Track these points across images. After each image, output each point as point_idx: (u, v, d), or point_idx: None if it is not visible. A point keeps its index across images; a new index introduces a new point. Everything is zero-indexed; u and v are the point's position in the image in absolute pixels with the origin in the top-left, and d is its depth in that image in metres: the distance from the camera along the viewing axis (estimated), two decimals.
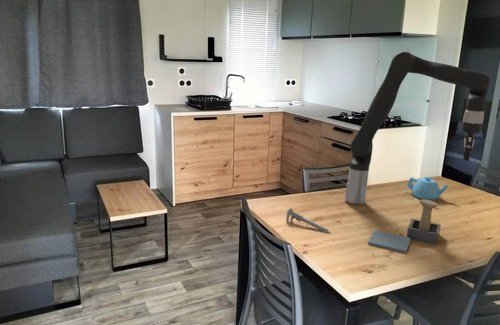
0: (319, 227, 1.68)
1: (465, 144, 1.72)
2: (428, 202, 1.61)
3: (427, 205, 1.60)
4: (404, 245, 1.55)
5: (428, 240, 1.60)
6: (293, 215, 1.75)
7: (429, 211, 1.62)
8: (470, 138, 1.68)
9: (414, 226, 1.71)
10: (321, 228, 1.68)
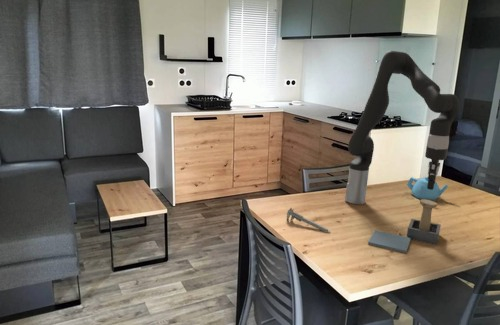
0: (319, 227, 1.68)
1: (429, 171, 1.56)
2: (428, 202, 1.61)
3: (427, 205, 1.60)
4: (404, 245, 1.55)
5: (428, 240, 1.60)
6: (293, 215, 1.75)
7: (429, 211, 1.62)
8: (433, 165, 1.52)
9: (414, 226, 1.71)
10: (321, 228, 1.68)
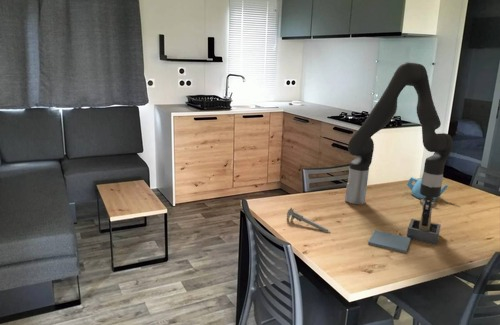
0: (319, 227, 1.68)
1: None
2: None
3: None
4: (404, 245, 1.55)
5: (428, 240, 1.60)
6: (293, 215, 1.75)
7: None
8: (427, 206, 1.57)
9: (414, 226, 1.71)
10: (321, 228, 1.68)
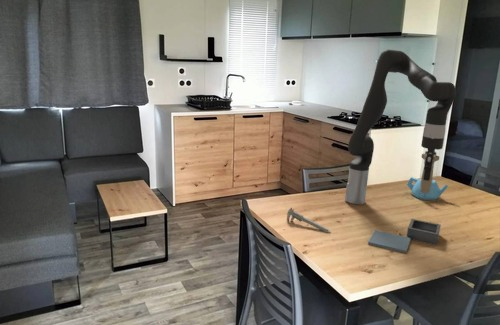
0: (319, 227, 1.68)
1: (425, 162, 1.55)
2: None
3: None
4: (404, 245, 1.55)
5: (428, 240, 1.60)
6: (293, 215, 1.75)
7: None
8: (429, 158, 1.50)
9: (414, 226, 1.71)
10: (321, 228, 1.68)
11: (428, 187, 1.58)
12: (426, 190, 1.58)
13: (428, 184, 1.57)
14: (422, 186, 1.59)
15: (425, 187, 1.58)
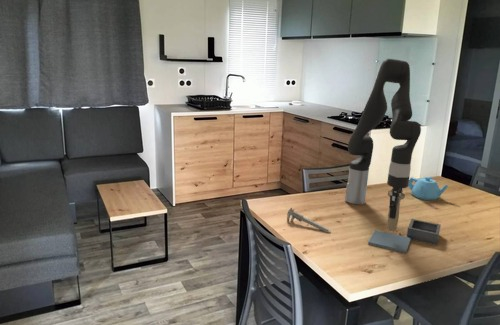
0: (320, 227, 1.68)
1: None
2: None
3: None
4: (404, 245, 1.55)
5: (428, 240, 1.60)
6: (293, 215, 1.75)
7: None
8: (393, 198, 1.49)
9: (414, 226, 1.71)
10: (322, 228, 1.68)
11: (394, 225, 1.56)
12: (392, 228, 1.57)
13: (394, 222, 1.56)
14: (388, 224, 1.57)
15: (391, 225, 1.56)
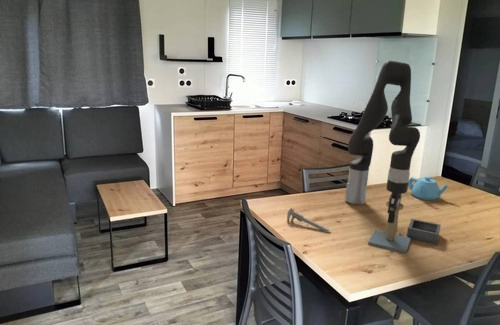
0: (320, 227, 1.68)
1: None
2: None
3: None
4: (404, 245, 1.55)
5: (428, 240, 1.60)
6: (293, 215, 1.75)
7: None
8: (393, 200, 1.49)
9: (414, 226, 1.71)
10: (322, 228, 1.68)
11: (393, 235, 1.57)
12: (391, 238, 1.58)
13: (393, 232, 1.57)
14: (387, 234, 1.58)
15: (390, 235, 1.58)
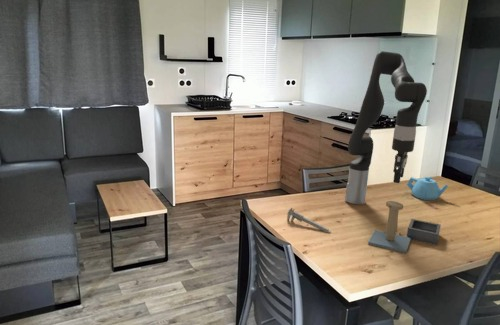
0: (320, 227, 1.68)
1: None
2: (394, 204, 1.55)
3: (393, 207, 1.54)
4: (404, 245, 1.55)
5: (428, 240, 1.60)
6: (293, 215, 1.75)
7: (395, 213, 1.55)
8: (399, 158, 1.45)
9: (414, 226, 1.71)
10: (322, 228, 1.68)
11: (393, 235, 1.57)
12: (391, 238, 1.58)
13: (393, 232, 1.57)
14: (387, 234, 1.58)
15: (390, 235, 1.58)
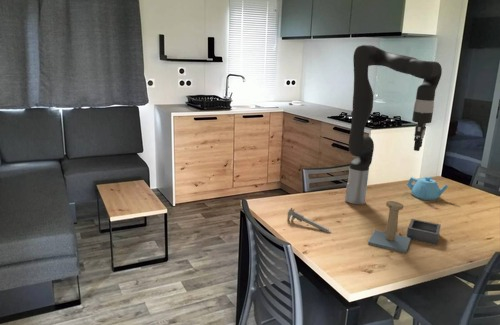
0: (320, 227, 1.68)
1: None
2: (394, 204, 1.55)
3: (393, 207, 1.54)
4: (404, 245, 1.55)
5: (428, 240, 1.60)
6: (293, 215, 1.75)
7: (395, 213, 1.55)
8: (419, 128, 1.65)
9: (414, 226, 1.71)
10: (322, 228, 1.68)
11: (393, 235, 1.57)
12: (391, 238, 1.58)
13: (393, 232, 1.57)
14: (387, 234, 1.58)
15: (390, 235, 1.58)
